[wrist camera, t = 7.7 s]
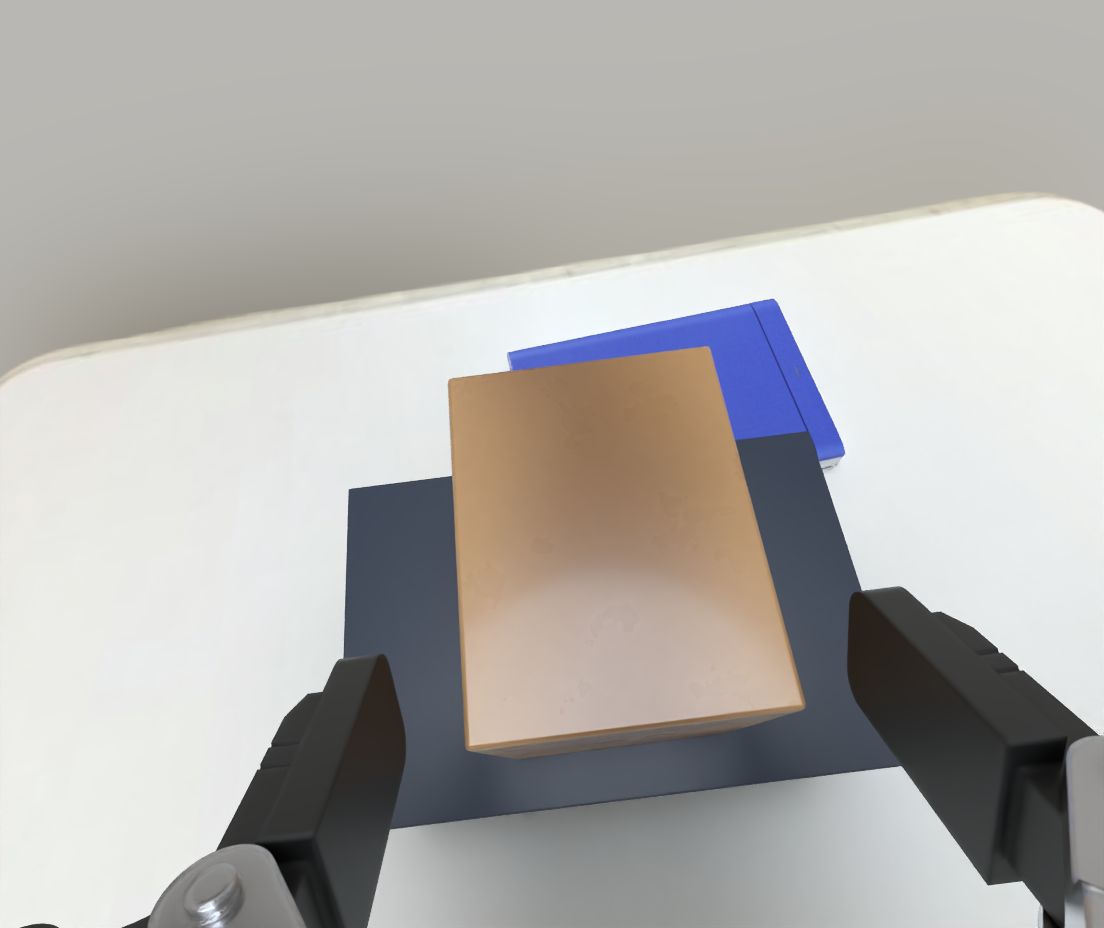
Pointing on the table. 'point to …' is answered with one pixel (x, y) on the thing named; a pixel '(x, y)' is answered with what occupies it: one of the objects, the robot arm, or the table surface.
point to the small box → (609, 560)
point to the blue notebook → (724, 368)
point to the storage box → (622, 772)
